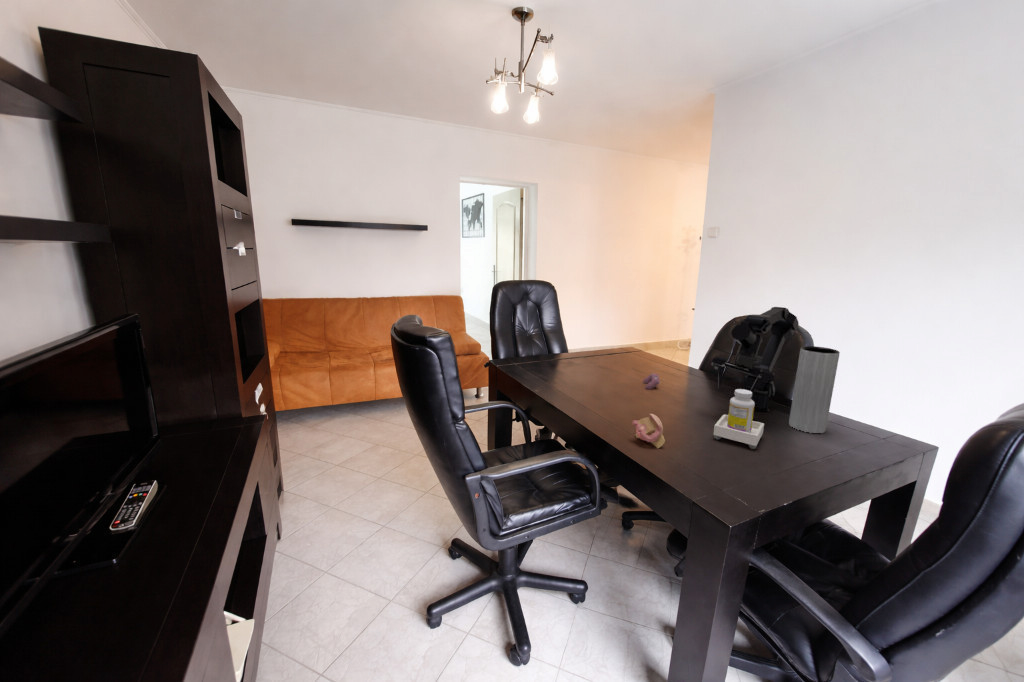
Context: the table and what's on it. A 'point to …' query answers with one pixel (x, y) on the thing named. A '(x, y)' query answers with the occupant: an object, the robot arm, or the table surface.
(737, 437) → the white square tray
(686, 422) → the table surface
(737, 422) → the supplement bottle
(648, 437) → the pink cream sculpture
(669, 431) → the table surface
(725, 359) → the robot arm
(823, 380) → the vase
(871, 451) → the table surface
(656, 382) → the purple lumpy piece
